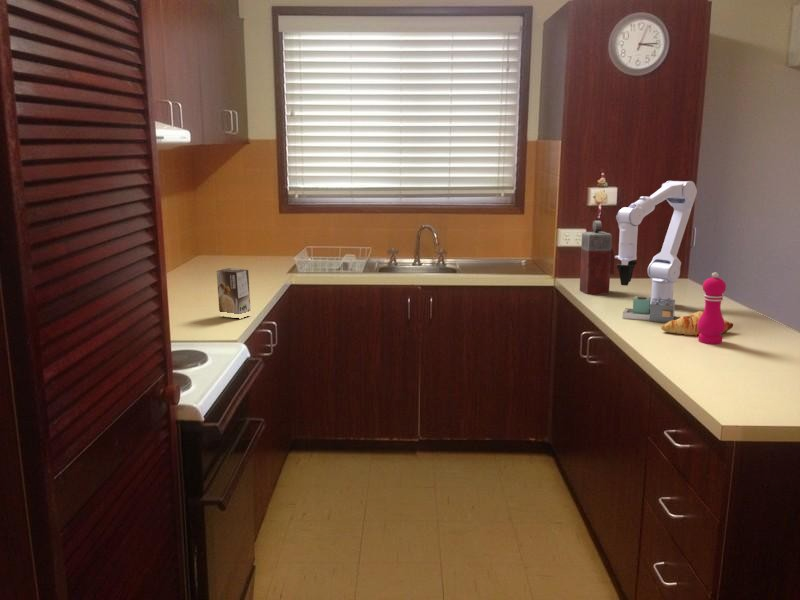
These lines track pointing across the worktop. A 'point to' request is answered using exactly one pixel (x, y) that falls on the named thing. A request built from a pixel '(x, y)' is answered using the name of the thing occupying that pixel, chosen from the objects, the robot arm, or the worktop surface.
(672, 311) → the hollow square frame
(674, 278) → the robot arm
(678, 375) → the worktop surface
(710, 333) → the pepper mill
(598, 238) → the red canister
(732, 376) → the worktop surface
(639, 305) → the teal block with knob
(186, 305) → the worktop surface
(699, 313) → the croissant
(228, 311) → the coffee box
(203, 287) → the worktop surface
